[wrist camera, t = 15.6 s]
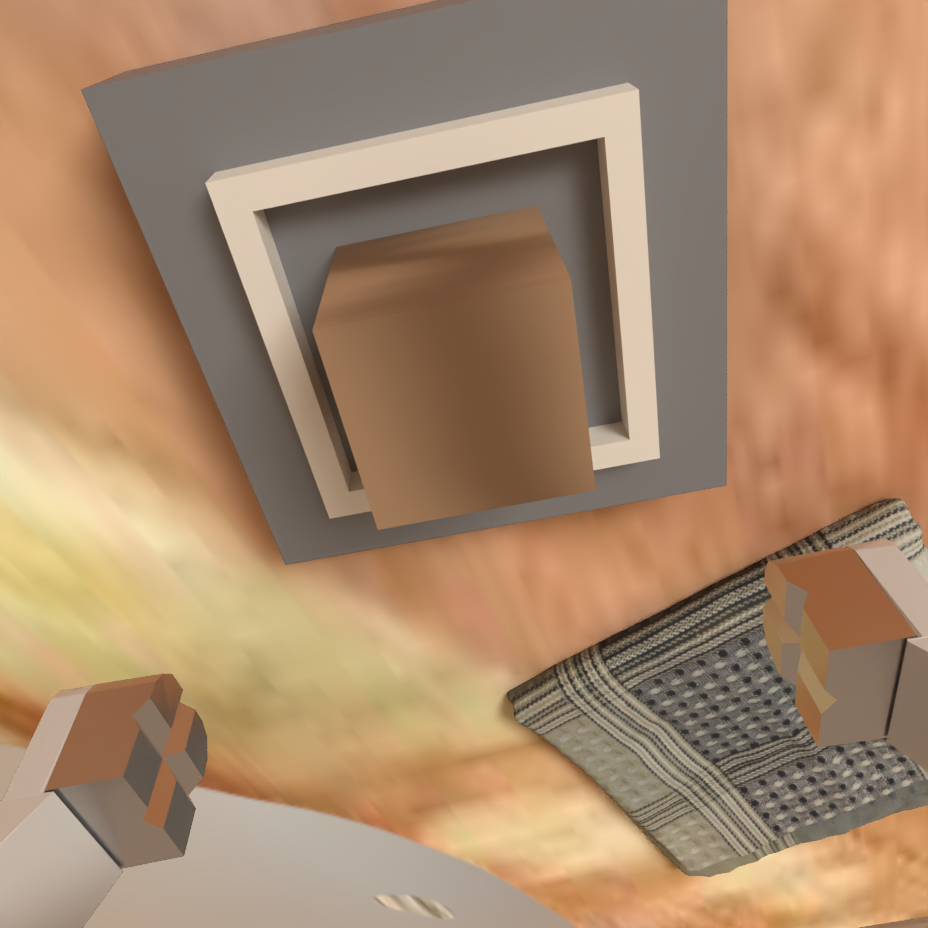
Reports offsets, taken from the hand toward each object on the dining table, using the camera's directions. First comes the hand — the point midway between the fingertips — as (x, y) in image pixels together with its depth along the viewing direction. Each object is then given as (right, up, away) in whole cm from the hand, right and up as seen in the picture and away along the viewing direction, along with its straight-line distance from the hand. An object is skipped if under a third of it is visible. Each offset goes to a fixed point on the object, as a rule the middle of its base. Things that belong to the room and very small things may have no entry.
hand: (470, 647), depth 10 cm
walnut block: (0, +6, +10) cm, 11 cm away
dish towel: (+14, -8, +25) cm, 30 cm away
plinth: (0, +8, +12) cm, 14 cm away
